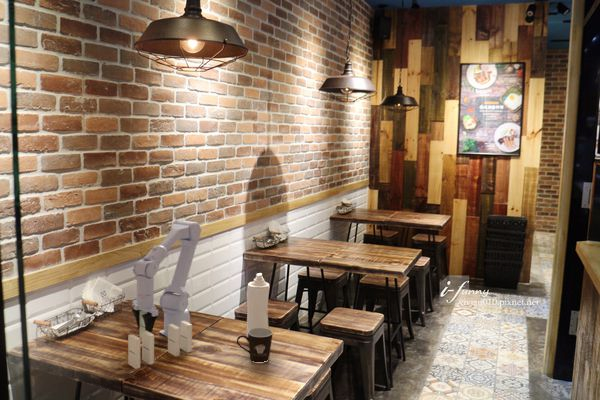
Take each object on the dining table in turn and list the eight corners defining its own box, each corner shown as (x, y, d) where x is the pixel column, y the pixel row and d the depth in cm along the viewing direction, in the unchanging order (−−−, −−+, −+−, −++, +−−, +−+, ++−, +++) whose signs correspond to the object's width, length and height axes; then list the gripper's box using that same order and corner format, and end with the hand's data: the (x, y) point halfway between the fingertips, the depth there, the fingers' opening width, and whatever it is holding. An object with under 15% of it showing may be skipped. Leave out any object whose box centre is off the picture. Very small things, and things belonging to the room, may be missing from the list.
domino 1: (132, 362, 173) (132, 334, 172) (140, 367, 170) (140, 338, 168) (128, 364, 172) (128, 335, 171) (135, 369, 168) (135, 339, 167)
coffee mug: (275, 357, 182) (276, 330, 181) (266, 367, 174) (267, 338, 173) (245, 351, 186) (246, 324, 185) (234, 360, 178) (235, 333, 177)
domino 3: (146, 358, 177) (146, 330, 175) (153, 363, 173) (154, 334, 172) (141, 359, 175) (142, 331, 174) (149, 364, 172) (149, 336, 171)
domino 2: (143, 336, 187) (143, 310, 186) (150, 340, 184) (150, 313, 183) (139, 337, 186) (139, 311, 185) (146, 342, 183) (146, 314, 182)
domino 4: (171, 350, 184) (172, 323, 183) (179, 355, 180) (180, 327, 179) (167, 351, 183) (168, 324, 181) (175, 356, 179) (175, 328, 178)
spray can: (236, 337, 198) (238, 274, 195) (255, 330, 207) (257, 269, 204) (259, 345, 191) (261, 280, 188) (277, 337, 200) (279, 275, 197)
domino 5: (183, 347, 187) (184, 320, 186) (191, 351, 184) (192, 324, 183) (179, 348, 186) (180, 321, 185) (187, 352, 183) (188, 325, 182)
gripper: (124, 290, 185) (124, 326, 187) (145, 300, 175) (145, 339, 177) (142, 287, 190) (142, 322, 192) (163, 296, 180) (163, 333, 182)
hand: (145, 330), depth 185 cm, fingers closed on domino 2, 5 cm apart
